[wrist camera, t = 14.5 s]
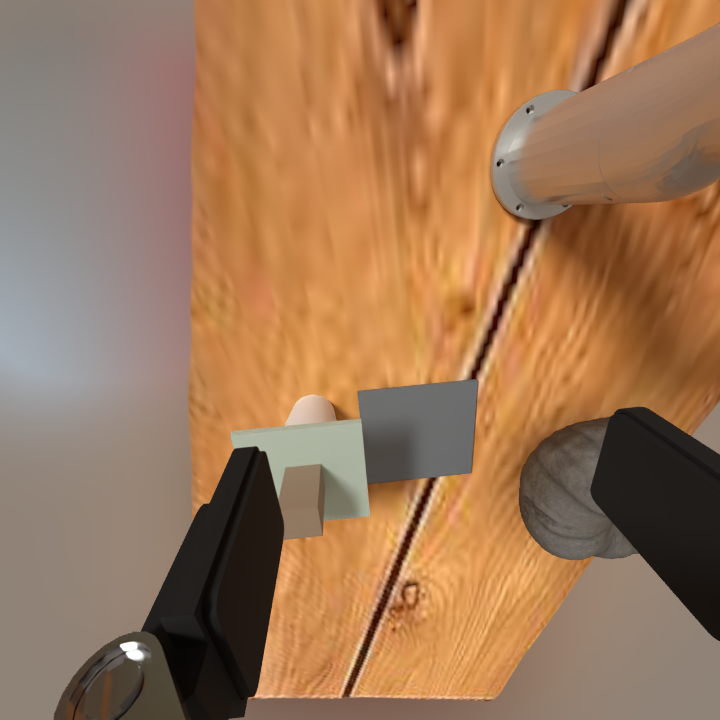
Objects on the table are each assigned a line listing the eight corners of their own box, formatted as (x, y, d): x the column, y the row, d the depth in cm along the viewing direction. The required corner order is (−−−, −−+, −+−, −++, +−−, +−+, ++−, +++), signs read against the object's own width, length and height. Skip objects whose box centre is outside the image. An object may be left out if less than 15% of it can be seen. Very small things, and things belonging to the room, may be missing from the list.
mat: (476, 379, 50) (477, 380, 49) (470, 471, 57) (471, 473, 57) (357, 391, 50) (357, 392, 49) (366, 481, 57) (366, 484, 57)
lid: (361, 418, 36) (365, 461, 30) (369, 510, 42) (374, 562, 36) (232, 431, 36) (209, 476, 30) (258, 522, 42) (244, 576, 35)
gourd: (512, 406, 49) (614, 506, 34) (650, 377, 53) (795, 455, 39) (488, 512, 62) (556, 618, 47) (601, 482, 66) (696, 571, 51)
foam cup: (350, 391, 50) (353, 448, 38) (338, 441, 53) (338, 507, 41) (286, 381, 48) (269, 436, 36) (278, 432, 52) (260, 498, 40)
